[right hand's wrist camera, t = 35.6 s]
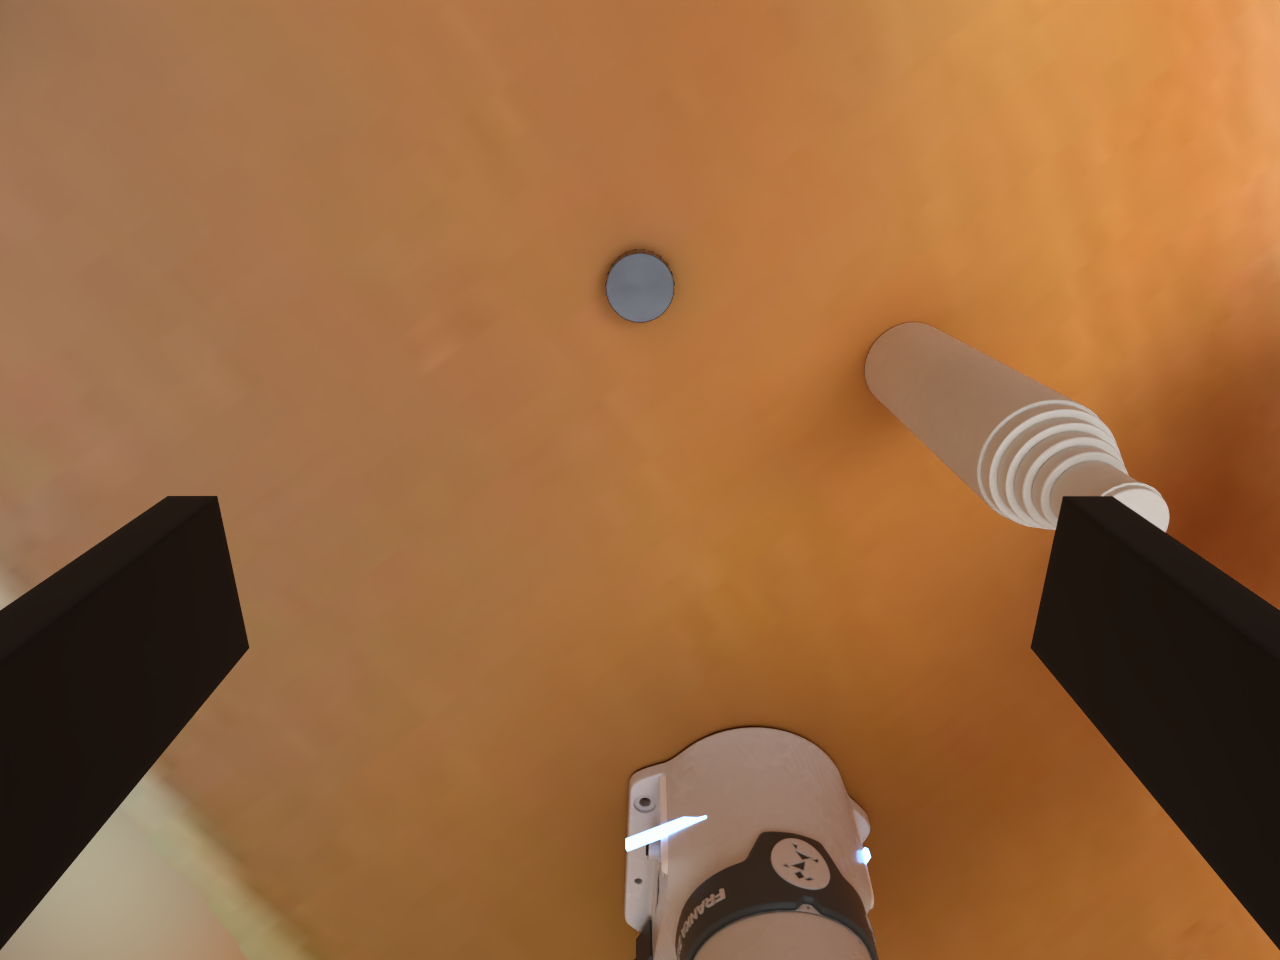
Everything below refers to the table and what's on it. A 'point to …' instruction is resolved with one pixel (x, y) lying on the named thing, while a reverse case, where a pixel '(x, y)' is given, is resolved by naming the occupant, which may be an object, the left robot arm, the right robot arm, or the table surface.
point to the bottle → (1001, 428)
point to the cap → (640, 286)
